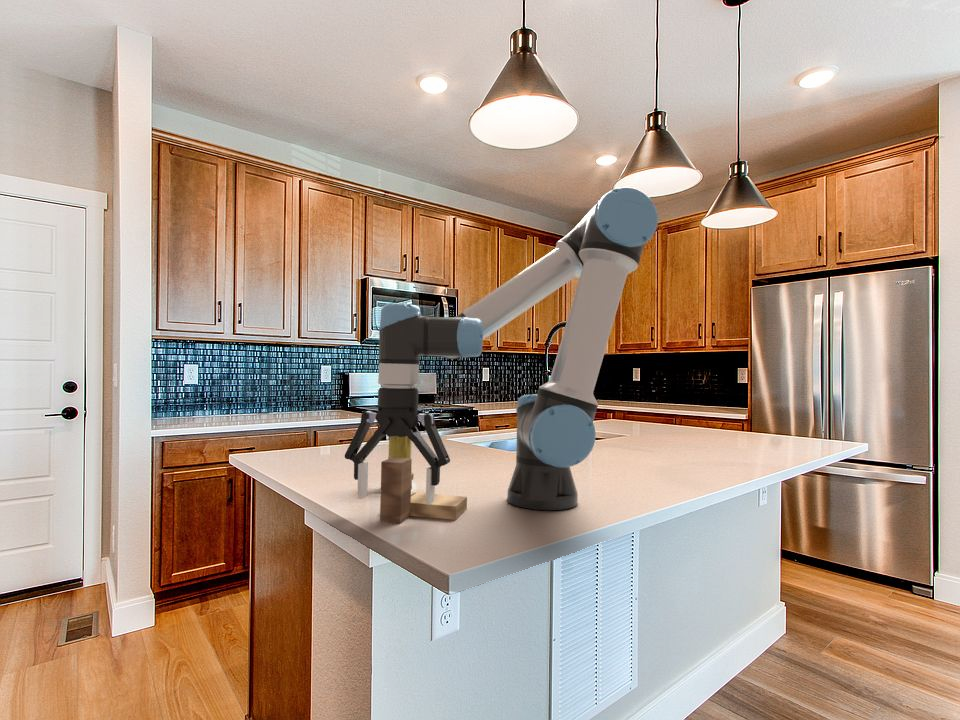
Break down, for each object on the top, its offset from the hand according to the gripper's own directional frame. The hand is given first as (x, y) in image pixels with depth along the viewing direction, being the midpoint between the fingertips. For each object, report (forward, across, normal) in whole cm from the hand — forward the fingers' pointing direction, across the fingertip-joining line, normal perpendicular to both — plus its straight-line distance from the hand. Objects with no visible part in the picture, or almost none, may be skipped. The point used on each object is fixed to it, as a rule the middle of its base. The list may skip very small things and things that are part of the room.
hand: (395, 500), depth 99 cm
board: (+4, -4, -7) cm, 9 cm away
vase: (+4, +9, -24) cm, 26 cm away
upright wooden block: (+4, 0, -2) cm, 4 cm away
